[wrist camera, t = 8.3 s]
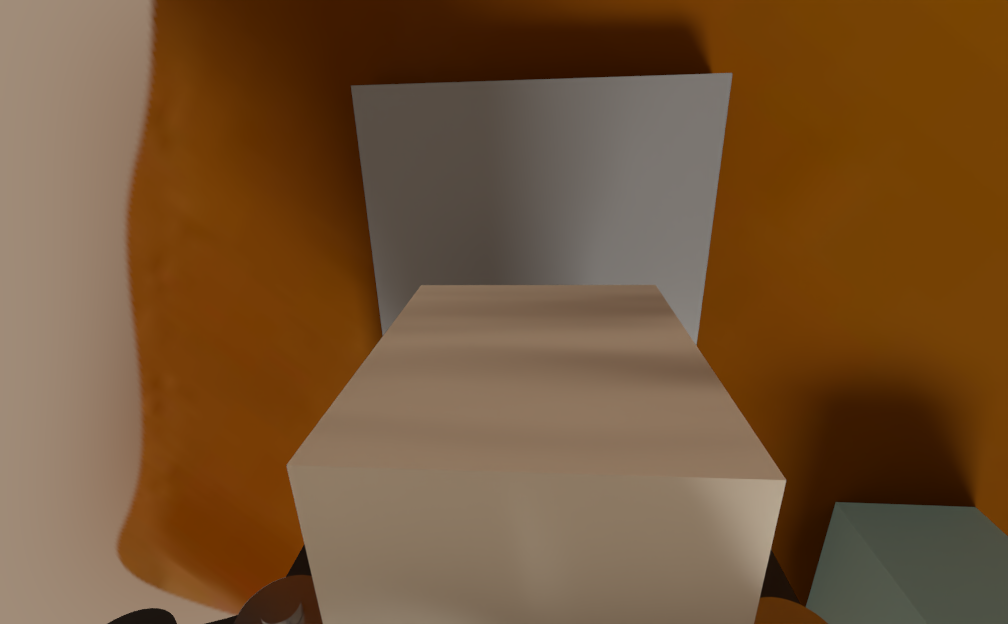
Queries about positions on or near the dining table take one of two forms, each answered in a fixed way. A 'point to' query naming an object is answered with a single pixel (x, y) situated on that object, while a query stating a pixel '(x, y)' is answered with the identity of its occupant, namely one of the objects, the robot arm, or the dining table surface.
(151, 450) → the dining table surface
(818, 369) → the dining table surface
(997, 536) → the teal brick
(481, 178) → the baseplate
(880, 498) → the dining table surface
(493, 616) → the cream brick
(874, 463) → the dining table surface
